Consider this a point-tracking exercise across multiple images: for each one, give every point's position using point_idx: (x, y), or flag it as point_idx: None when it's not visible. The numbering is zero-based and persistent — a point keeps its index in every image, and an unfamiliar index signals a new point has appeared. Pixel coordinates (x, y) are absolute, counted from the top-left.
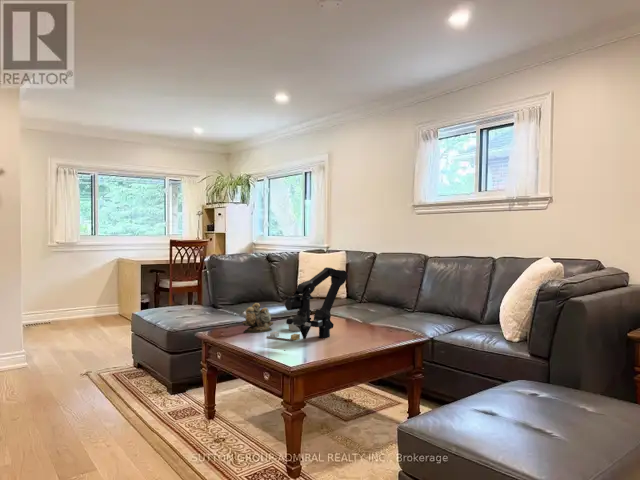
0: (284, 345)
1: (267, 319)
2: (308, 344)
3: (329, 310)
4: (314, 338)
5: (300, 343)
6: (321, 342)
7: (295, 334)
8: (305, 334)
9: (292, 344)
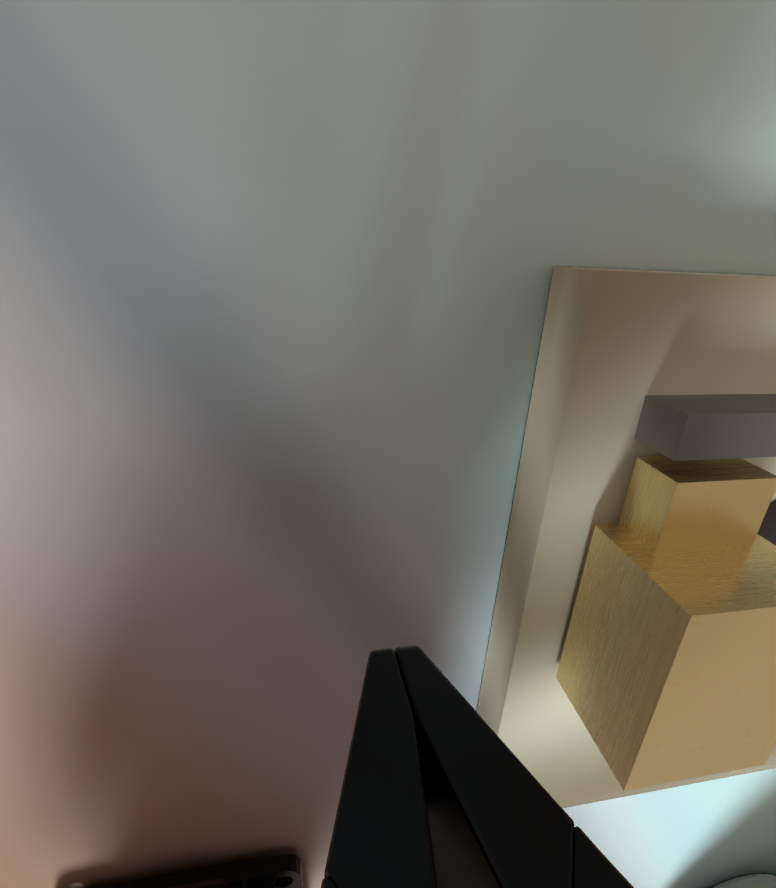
0: (766, 147)
1: None
2: (222, 544)
3: None
4: None
5: (448, 524)
6: (79, 792)
7: (733, 719)
8: (340, 799)
9: None
